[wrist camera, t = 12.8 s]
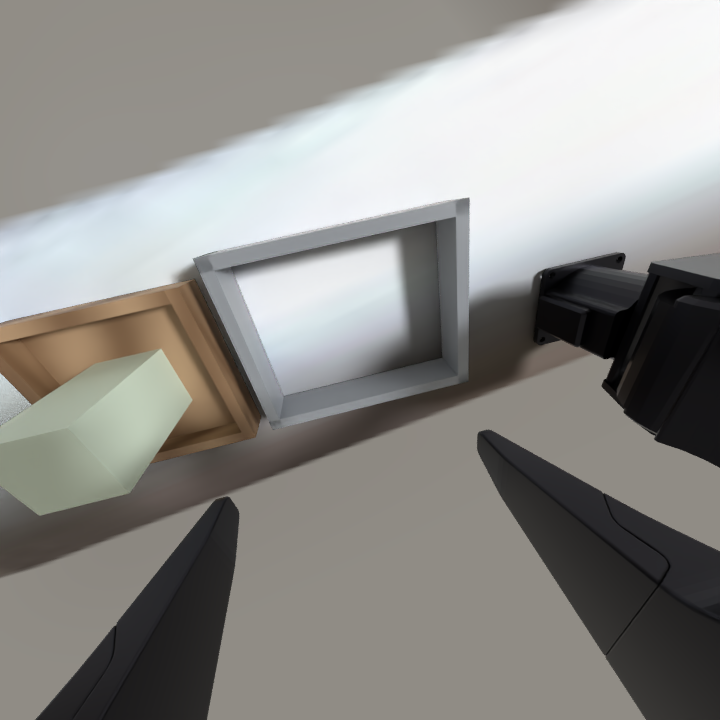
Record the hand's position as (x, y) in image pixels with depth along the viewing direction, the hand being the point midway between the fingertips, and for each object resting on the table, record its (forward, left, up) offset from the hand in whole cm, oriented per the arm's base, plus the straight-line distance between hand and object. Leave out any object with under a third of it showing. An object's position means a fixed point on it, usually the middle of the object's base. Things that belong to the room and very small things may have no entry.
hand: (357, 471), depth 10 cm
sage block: (+14, 0, -12) cm, 18 cm away
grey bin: (-2, -1, -13) cm, 13 cm away
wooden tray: (+14, 0, -13) cm, 19 cm away
